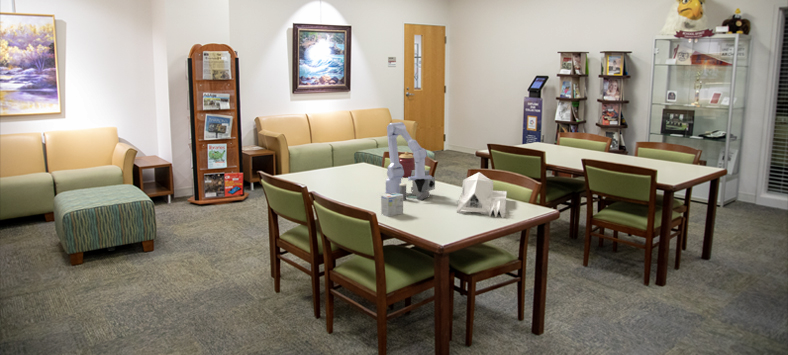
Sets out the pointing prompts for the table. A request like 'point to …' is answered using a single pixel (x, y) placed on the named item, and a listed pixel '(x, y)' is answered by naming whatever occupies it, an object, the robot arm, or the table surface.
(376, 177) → the table surface
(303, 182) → the table surface
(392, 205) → the light bulb box
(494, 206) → the white faceted model
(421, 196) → the post right
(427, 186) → the circuit breaker
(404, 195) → the post left
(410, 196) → the pad
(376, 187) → the table surface
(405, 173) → the canister
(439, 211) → the table surface
